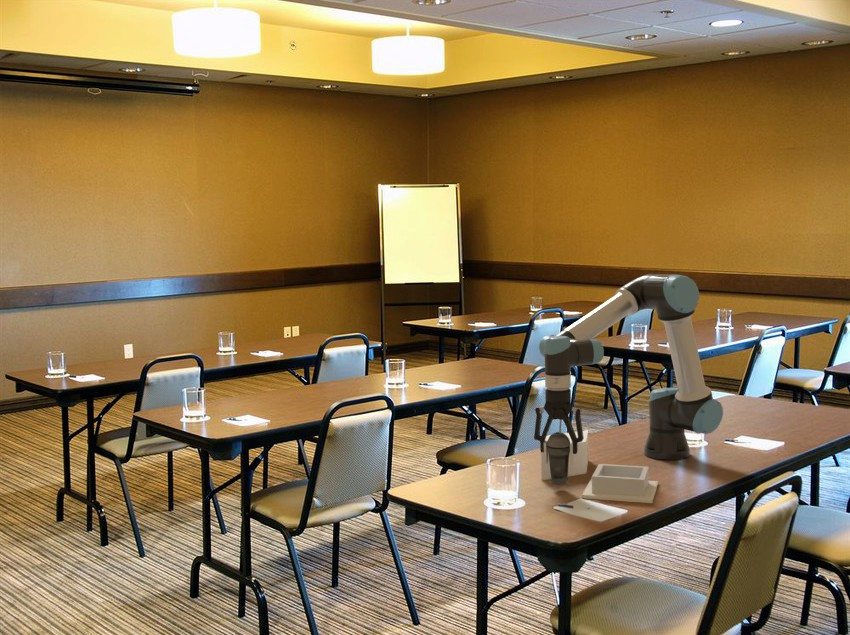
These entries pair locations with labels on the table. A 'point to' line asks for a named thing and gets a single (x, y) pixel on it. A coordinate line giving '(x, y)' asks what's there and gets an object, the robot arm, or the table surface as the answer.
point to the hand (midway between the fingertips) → (559, 463)
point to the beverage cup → (558, 457)
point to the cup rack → (621, 484)
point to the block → (579, 458)
